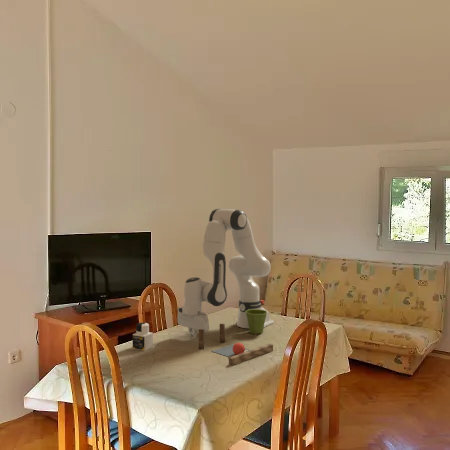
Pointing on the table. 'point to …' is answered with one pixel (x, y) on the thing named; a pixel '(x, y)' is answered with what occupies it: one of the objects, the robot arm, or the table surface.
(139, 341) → the medicine bottle
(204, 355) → the table surface
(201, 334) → the post
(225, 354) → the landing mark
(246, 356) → the stopper wall
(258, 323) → the plant pot
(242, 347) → the ball
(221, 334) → the post
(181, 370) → the table surface
